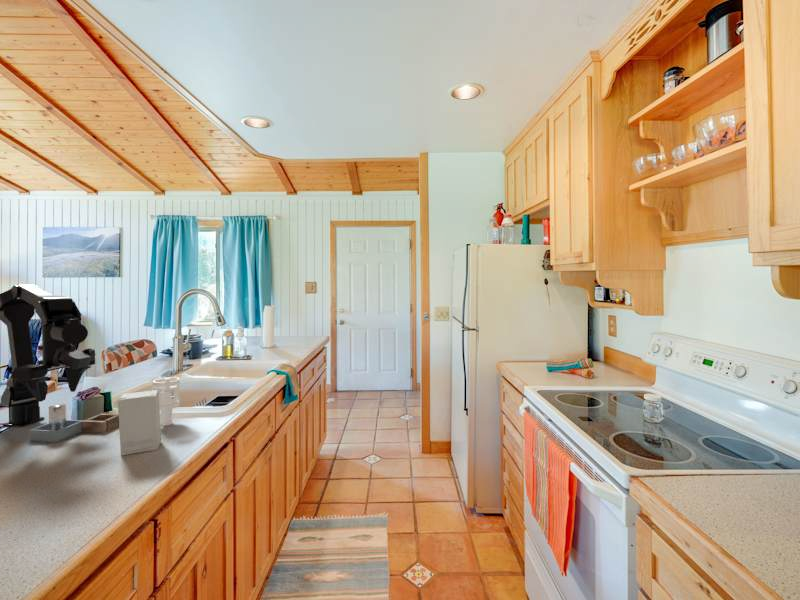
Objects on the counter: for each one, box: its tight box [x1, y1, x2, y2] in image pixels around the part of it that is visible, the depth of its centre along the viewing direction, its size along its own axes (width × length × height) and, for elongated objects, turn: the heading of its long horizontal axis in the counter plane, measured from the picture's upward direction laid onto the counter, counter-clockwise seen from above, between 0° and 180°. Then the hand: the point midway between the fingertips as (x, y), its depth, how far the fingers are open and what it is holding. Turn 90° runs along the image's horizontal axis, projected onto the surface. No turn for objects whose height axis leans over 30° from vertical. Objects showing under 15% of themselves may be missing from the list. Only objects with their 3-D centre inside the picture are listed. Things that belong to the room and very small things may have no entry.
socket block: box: [81, 413, 119, 433], centre depth 108 cm, size 7×7×3 cm
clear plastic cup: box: [152, 376, 181, 427], centre depth 112 cm, size 7×7×15 cm
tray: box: [29, 419, 84, 443], centre depth 102 cm, size 8×8×3 cm
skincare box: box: [117, 389, 162, 456], centre depth 95 cm, size 8×6×15 cm
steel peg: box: [48, 403, 67, 430], centre depth 102 cm, size 4×4×8 cm
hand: (57, 396), depth 102 cm, fingers open, 9 cm apart
